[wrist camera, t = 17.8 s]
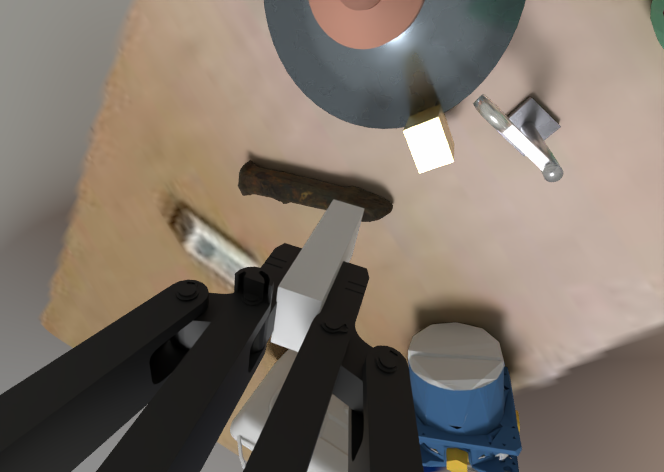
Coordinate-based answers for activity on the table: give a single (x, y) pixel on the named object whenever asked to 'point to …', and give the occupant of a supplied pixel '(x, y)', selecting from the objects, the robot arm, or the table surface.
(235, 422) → the radio
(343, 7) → the cover
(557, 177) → the indicator stand
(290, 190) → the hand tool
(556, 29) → the table surface
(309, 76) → the turntable
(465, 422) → the valve
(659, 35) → the mug
